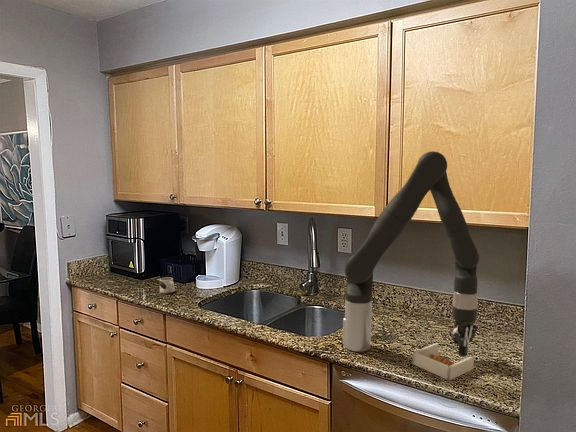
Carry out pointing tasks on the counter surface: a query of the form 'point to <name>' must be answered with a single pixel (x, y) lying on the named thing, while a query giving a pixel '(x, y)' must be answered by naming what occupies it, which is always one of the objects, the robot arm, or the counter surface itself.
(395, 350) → the counter surface
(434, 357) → the pastry
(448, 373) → the bin
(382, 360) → the counter surface
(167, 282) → the mug
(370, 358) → the counter surface
